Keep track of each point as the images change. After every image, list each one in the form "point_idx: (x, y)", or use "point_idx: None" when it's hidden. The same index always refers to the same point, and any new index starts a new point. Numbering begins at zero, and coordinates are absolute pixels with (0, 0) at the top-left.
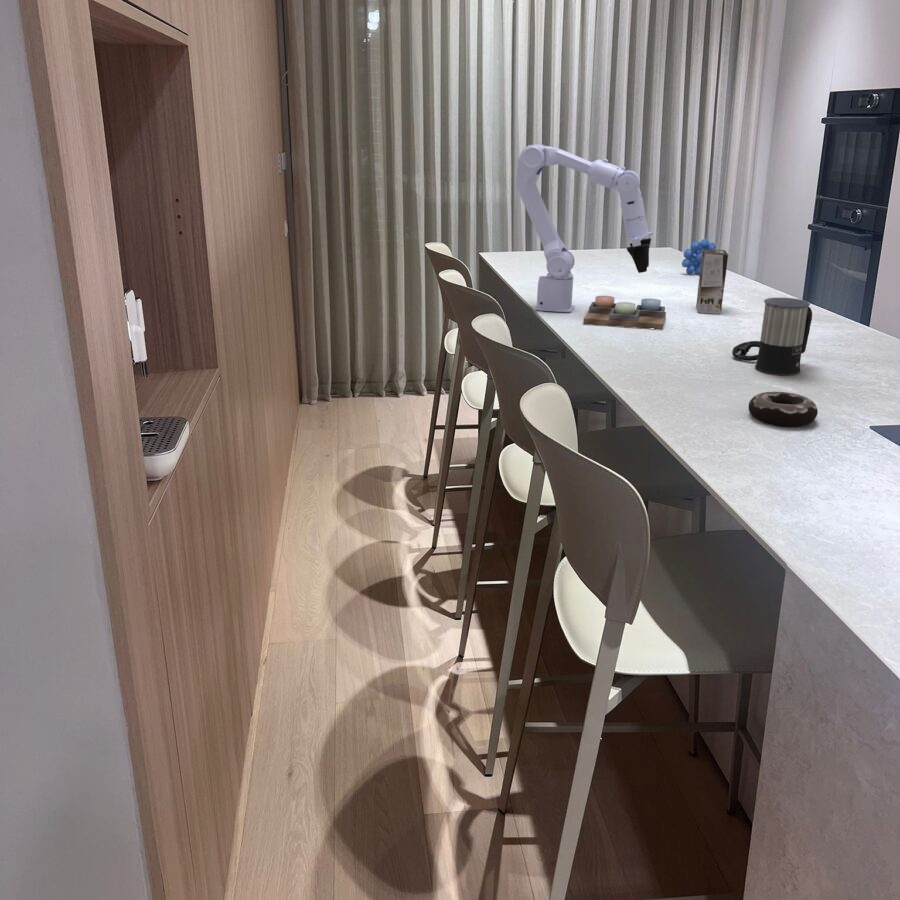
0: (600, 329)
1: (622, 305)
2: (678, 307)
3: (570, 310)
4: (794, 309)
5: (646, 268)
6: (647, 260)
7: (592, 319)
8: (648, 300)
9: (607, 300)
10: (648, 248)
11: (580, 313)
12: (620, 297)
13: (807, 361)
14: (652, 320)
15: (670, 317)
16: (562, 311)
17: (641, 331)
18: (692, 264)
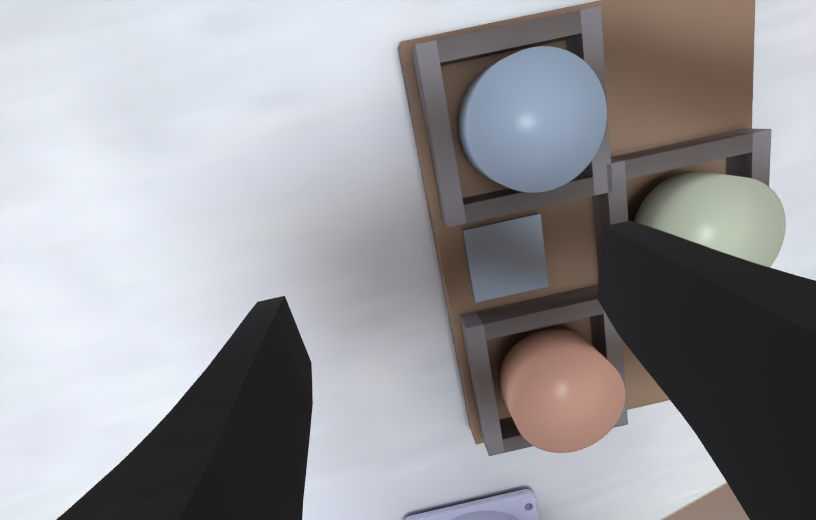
0: (799, 273)
1: (774, 243)
2: (35, 44)
3: (520, 497)
4: None
5: (658, 230)
6: (272, 349)
7: None
8: (550, 139)
9: (615, 371)
10: (207, 482)
11: (510, 452)
12: (4, 432)
13: None
14: (680, 58)
15: (377, 19)
16: (537, 517)
17: (790, 83)
18: None
